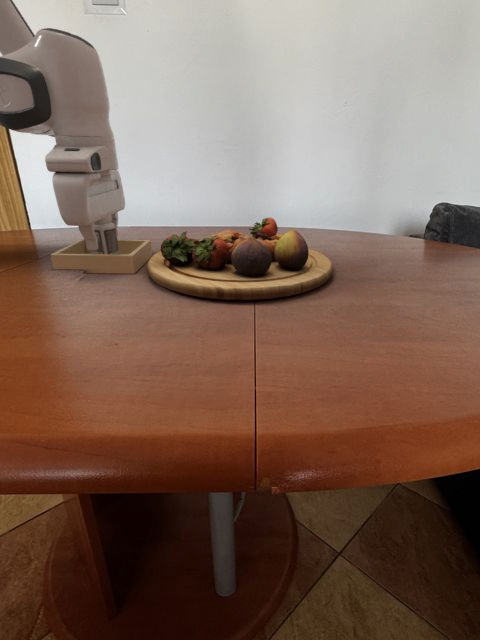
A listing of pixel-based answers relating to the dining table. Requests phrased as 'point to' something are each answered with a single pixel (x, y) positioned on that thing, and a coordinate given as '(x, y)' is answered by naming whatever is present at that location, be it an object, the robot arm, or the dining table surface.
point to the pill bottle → (106, 236)
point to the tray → (104, 258)
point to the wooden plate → (240, 264)
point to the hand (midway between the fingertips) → (103, 243)
